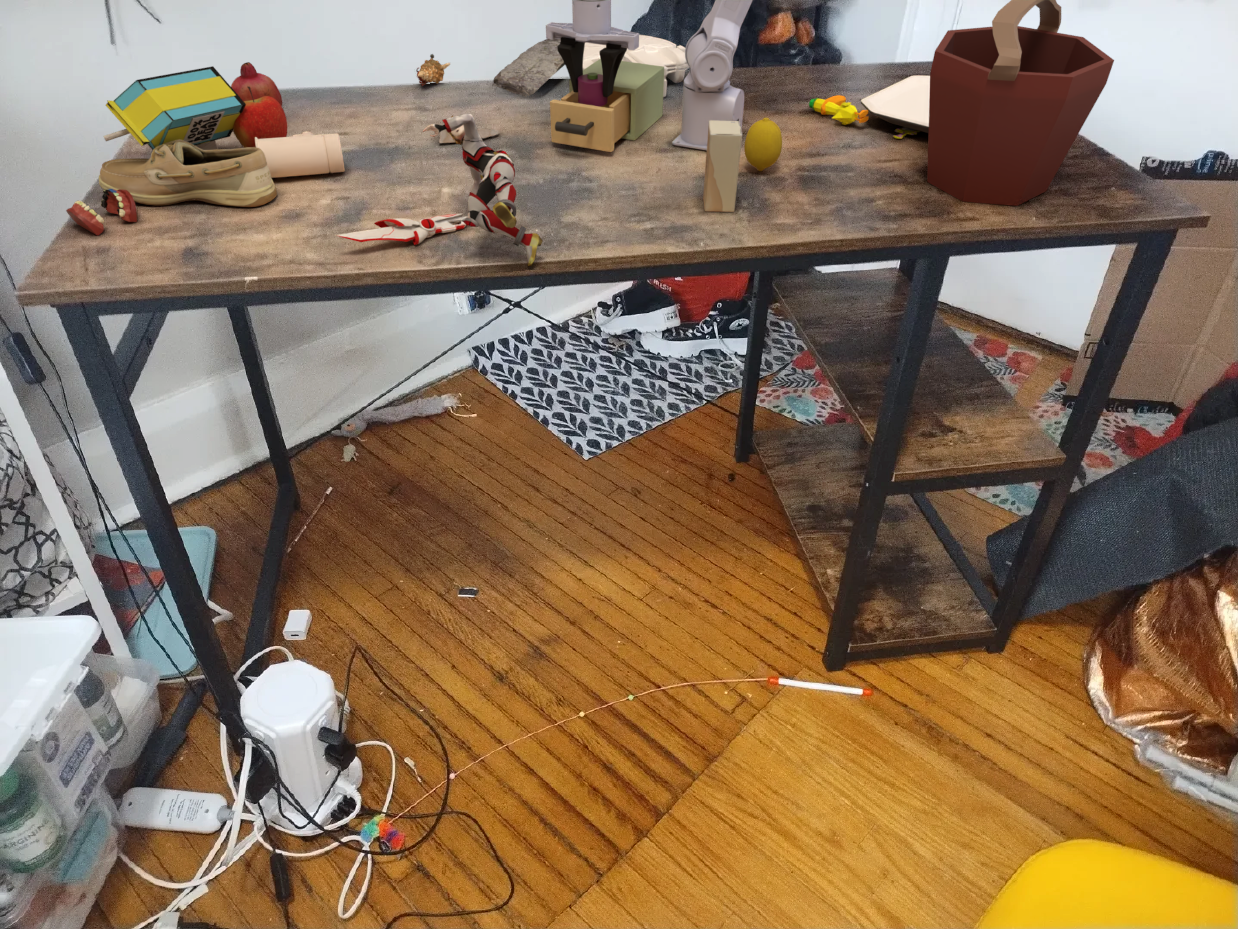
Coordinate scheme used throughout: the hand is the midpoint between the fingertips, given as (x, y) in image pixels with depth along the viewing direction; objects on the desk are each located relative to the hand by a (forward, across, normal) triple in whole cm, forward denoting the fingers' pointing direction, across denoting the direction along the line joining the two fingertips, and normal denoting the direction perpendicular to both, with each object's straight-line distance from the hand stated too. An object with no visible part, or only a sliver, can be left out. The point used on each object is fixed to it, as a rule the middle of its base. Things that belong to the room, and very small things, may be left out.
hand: (592, 92), depth 138 cm
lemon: (+8, +28, 0) cm, 29 cm away
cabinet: (+8, 0, +10) cm, 13 cm away
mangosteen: (+1, 0, 0) cm, 1 cm away
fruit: (+8, -53, -16) cm, 56 cm away
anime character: (+6, +9, -50) cm, 51 cm away
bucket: (+8, +59, +10) cm, 61 cm away
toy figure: (+6, +39, +23) cm, 46 cm away
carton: (0, -48, -28) cm, 56 cm away
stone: (+7, -18, +28) cm, 34 cm away
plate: (+7, +53, +34) cm, 64 cm away
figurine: (+2, -41, +13) cm, 43 cm away
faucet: (+5, -40, -31) cm, 51 cm away
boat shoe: (+8, -44, -42) cm, 61 cm away
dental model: (+6, -49, -58) cm, 76 cm away
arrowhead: (+7, -24, -10) cm, 26 cm away
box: (+8, +26, -14) cm, 31 cm away
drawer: (+7, 0, -1) cm, 7 cm away
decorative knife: (+8, +45, +28) cm, 54 cm away
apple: (+8, -44, -26) cm, 52 cm away
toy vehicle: (+1, -7, +32) cm, 33 cm away
